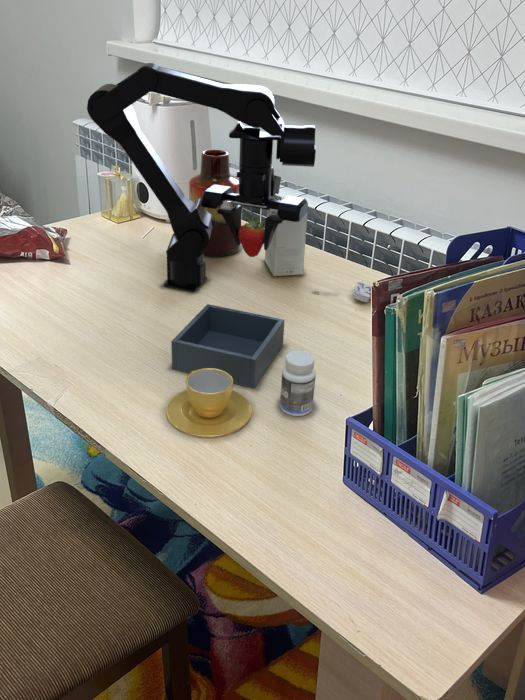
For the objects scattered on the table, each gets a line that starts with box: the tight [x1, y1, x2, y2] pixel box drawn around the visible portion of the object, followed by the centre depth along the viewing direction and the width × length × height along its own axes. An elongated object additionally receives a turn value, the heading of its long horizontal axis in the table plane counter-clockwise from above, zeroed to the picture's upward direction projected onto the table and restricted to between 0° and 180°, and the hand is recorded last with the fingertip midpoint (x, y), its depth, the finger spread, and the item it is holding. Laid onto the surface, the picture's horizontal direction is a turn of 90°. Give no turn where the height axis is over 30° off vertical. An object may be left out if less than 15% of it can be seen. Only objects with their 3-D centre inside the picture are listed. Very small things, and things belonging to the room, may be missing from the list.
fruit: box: [238, 215, 265, 258], centre depth 128 cm, size 5×5×8 cm
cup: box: [165, 368, 253, 437], centre depth 96 cm, size 12×12×5 cm
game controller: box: [315, 281, 372, 303], centre depth 130 cm, size 6×12×3 cm, turn 100°
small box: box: [264, 199, 309, 277], centre depth 138 cm, size 8×6×13 cm
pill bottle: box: [279, 350, 317, 417], centre depth 97 cm, size 5×5×8 cm
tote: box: [170, 303, 285, 389], centre depth 109 cm, size 14×14×5 cm
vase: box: [188, 148, 241, 258], centre depth 144 cm, size 11×11×20 cm
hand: (252, 246), depth 129 cm, fingers closed on fruit, 5 cm apart
